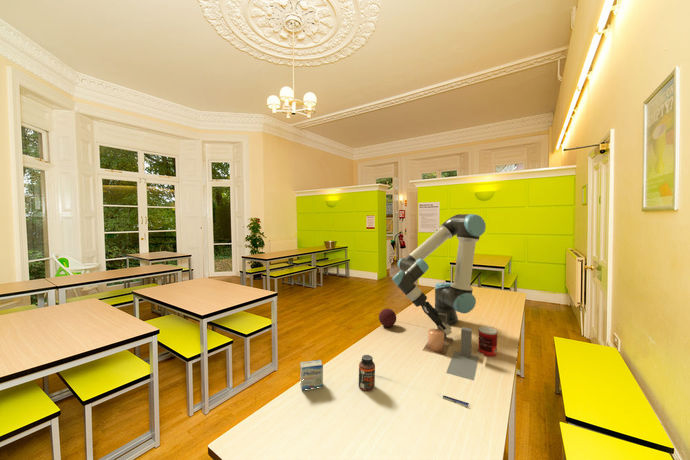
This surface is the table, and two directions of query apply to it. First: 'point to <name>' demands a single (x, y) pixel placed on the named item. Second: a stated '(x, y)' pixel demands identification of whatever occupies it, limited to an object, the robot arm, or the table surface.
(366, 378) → the supplement bottle
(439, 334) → the peach capsule shape
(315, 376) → the medicine box
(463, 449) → the table surface
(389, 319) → the decorative ball
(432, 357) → the table surface
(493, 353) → the canned food
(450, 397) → the hard drive
